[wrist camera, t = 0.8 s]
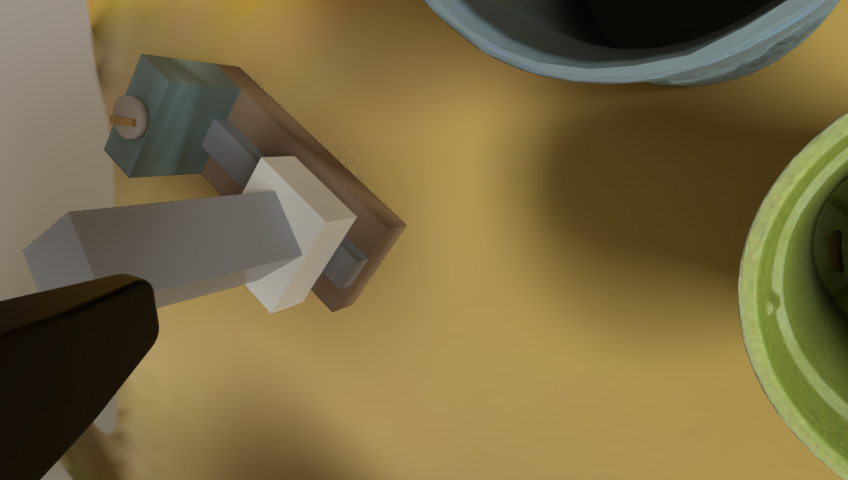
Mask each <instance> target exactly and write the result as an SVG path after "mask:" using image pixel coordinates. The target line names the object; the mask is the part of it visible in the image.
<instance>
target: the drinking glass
mask: <svg viewBox="0 0 848 480" xmlns="http://www.w3.org/2000/svg"><path fill="white" fill-rule="evenodd" d="M424 1H425V2H426V4H427V5H428V6H429V7H430V8H431V9H432V10H433V11H434V12H435V13H436V15H437V16H438V17H439V18H440V19H441V20H442V21H444V22H445V23H446V24H447V25H449V26H450V27H451V28H452V29H454V30H455V31H456V32H457V33H459V34H460V35H461V36H462V37H464V38H465V39H466V40H467V41H469V42H470V43H471V44H472V45H474V46H475V47H477V48H478V49H479V50H481V51H482V52H484V53H486V54H487V55H489V56H491V57H493V58H494V59H497V60H499V61H502V62H504V63H506V64H509V65H511V66H513V67H516V68H518V69H520V70H523V71H527V72H530V73H533V74H537V75H540V76H544V77H549V78H554V79H560V80H565V81H570V82H584V83H602V84H616V83H635V82H649V83H653V84H658V85H671V86H702V85H711V84H716V83H721V82H727V81H730V80H733V79H736V78H739V77H742V76H746V75H749V74H751V73H753V72H755V71H758V70H760V69H762V68H764V67H766V66H768V65H770V64H772V63H773V62H775V61H777V60H778V59H780V58H781V57H783V56H784V55H786V54H787V53H789V52H790V51H792V50H793V49H794V48H796V47H797V46H798V45H800V44H801V43H802V42H803V41H804V40H806V39H807V38H808V37H809V36H810V35H811V34H812V33H813V32H814V31H815V30H816V29H817V28H818V27H819V26H820V25H821V23H822V22H823V21H824V20H825V19H826V18H827V16H828V15H829V14H830V13H831V12H832V10H833V9H834V8H835V7H836V5H837V4H838V2H839V1H840V0H424Z"/></svg>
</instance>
